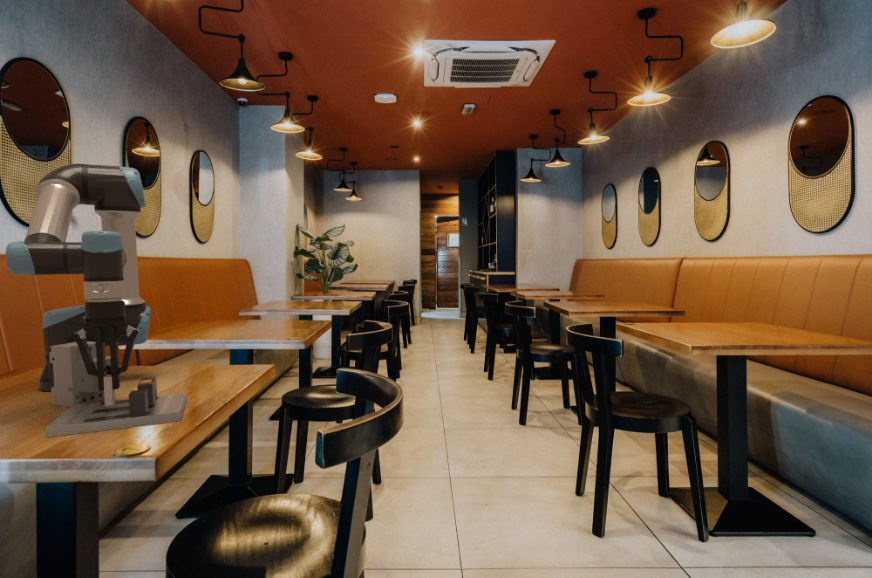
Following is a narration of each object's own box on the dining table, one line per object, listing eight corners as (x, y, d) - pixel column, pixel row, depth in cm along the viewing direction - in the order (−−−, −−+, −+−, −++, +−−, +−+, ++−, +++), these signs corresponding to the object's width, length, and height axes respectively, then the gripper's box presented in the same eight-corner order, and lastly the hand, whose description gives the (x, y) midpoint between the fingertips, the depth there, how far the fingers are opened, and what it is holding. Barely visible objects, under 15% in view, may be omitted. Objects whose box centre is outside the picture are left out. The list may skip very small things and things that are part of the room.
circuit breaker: (99, 407, 119) (96, 347, 118) (52, 405, 121) (49, 346, 121) (125, 399, 126) (122, 342, 125) (79, 397, 129) (76, 341, 128)
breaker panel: (72, 413, 114) (71, 384, 114) (186, 400, 123) (185, 373, 123) (46, 437, 98) (44, 403, 97) (179, 420, 107) (178, 389, 107)
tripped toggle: (141, 403, 113) (139, 380, 113) (155, 401, 114) (154, 378, 114) (138, 407, 110) (137, 383, 110) (153, 405, 111) (152, 382, 111)
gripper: (64, 302, 102) (70, 412, 103) (136, 300, 107) (140, 404, 109) (74, 300, 109) (80, 403, 110) (141, 298, 114) (145, 396, 115)
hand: (110, 403), depth 109 cm, fingers closed
